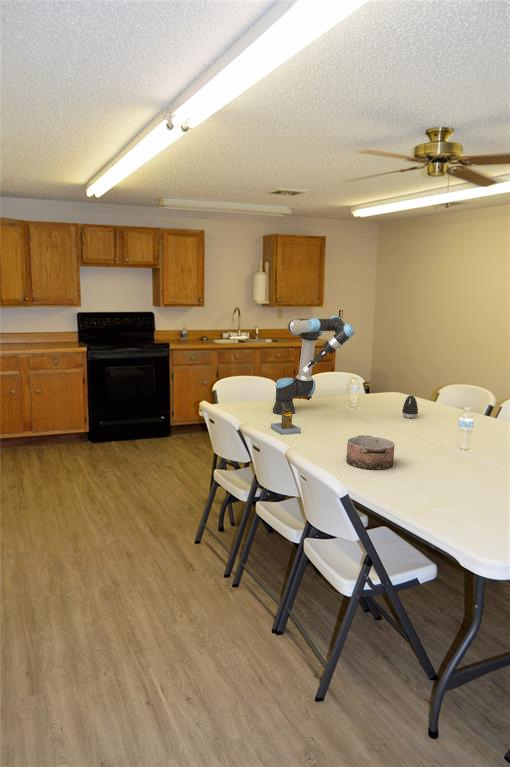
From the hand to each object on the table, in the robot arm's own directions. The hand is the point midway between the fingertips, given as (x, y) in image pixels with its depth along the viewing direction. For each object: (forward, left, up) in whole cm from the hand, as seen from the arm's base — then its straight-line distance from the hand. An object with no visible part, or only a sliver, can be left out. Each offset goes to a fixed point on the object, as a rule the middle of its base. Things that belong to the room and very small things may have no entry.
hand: (305, 369), depth 346 cm
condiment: (+14, +5, -35) cm, 38 cm away
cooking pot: (+2, +76, -36) cm, 84 cm away
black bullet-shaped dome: (-82, -6, -36) cm, 90 cm away
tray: (+14, +4, -36) cm, 39 cm away
